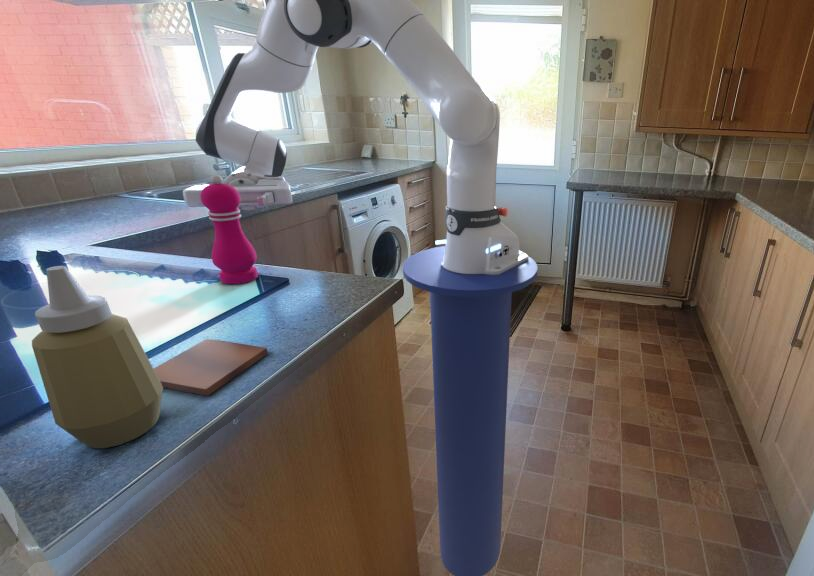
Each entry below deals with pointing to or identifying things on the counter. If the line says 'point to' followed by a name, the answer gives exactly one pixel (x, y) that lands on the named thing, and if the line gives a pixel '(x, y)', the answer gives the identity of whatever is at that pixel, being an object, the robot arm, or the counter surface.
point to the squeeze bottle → (93, 367)
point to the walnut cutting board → (207, 366)
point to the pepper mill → (228, 234)
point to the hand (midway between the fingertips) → (235, 201)
